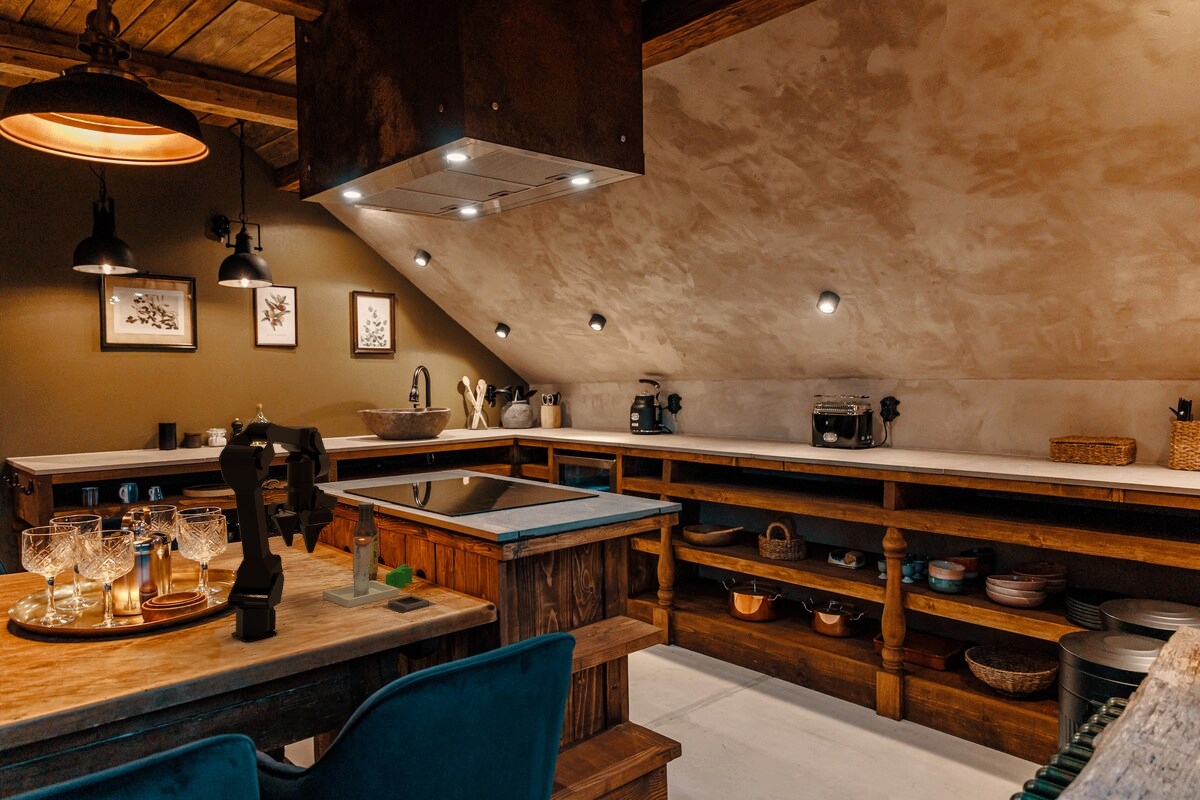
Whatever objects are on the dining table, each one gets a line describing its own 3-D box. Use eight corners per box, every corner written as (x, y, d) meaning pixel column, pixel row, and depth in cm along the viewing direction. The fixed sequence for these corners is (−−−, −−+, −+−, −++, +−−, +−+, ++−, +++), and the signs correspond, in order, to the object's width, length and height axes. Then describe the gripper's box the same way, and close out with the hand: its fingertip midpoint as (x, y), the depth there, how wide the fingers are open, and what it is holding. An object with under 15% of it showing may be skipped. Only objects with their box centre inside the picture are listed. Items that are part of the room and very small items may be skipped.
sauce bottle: (378, 581, 193) (380, 504, 193) (353, 582, 191) (354, 505, 190) (376, 574, 199) (377, 500, 199) (351, 576, 197) (353, 501, 196)
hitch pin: (363, 599, 174) (365, 540, 174) (348, 597, 176) (349, 538, 175) (373, 595, 178) (375, 536, 178) (358, 593, 180) (359, 535, 179)
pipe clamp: (399, 594, 183) (400, 575, 183) (385, 593, 183) (385, 574, 183) (416, 581, 194) (416, 564, 194) (402, 581, 194) (403, 563, 194)
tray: (348, 609, 168) (348, 600, 168) (322, 600, 175) (322, 591, 175) (398, 597, 179) (398, 588, 179) (372, 589, 186) (373, 580, 186)
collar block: (401, 615, 166) (401, 609, 165) (379, 607, 171) (380, 601, 171) (437, 605, 173) (437, 599, 173) (415, 598, 178) (415, 593, 178)
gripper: (355, 482, 170) (354, 550, 170) (311, 474, 182) (310, 538, 182) (310, 487, 161) (308, 558, 162) (267, 478, 173) (266, 545, 173)
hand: (299, 549), depth 170 cm, fingers open, 9 cm apart
